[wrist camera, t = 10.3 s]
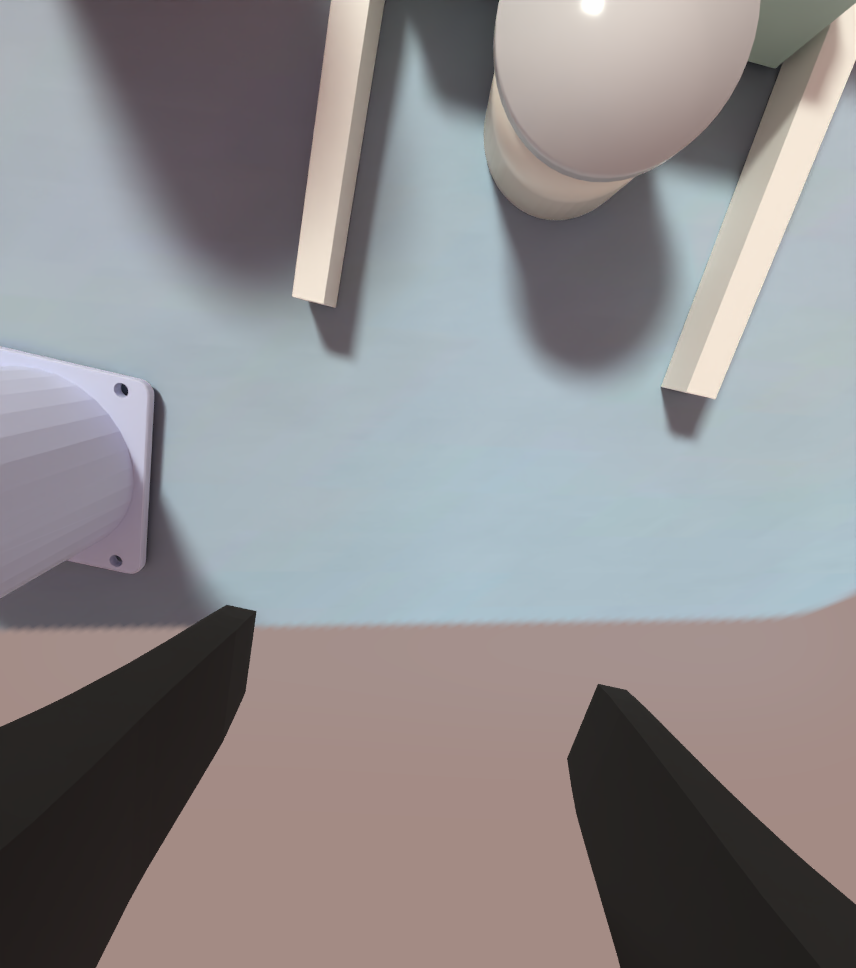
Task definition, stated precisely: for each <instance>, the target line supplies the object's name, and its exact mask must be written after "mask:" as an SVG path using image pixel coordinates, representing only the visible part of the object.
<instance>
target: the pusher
mask: <svg viewBox="0 0 856 968" xmlns="http://www.w3.org/2000/svg"><path fill="white" fill-rule="evenodd" d="M855 3H856V0H760V11H759V19H758V24H757V30H756V35H755V39H754V42H753V46H752V49H751V52H750V56H749V59H748V61H749V62H753V63H756V64H760V65H764V66H767V67H771V68H774V69H775V68H776V67H778V66H779V65H780V64H781V63H783V62H784V61H785V60H786V59H787V58H789V57H790V56H791V55H792V54H794V53H795V52H796V51H797V50H799V49H800V48H801V47H802V46H803V45H805V44H806V43H807V42H808V41H810V40H811V39H812V38H813V37H815V36H816V35H817V34H818V33H819V32H821V31H822V30H823V29H824V28H826V27H827V26H828V25H829V24H830V23H832V22H833V21H834V20H835V19H837V18H838V17H839V16H840V15H842V14H843V13H844V12H845V11H846V10H848V9H849V8H850V7H851V6H853V5H854V4H855Z"/></svg>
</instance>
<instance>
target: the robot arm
mask: <svg viewBox="0 0 856 968" xmlns="http://www.w3.org/2000/svg"><path fill="white" fill-rule="evenodd" d="M122 384H125V385H126V387H127V388H128V395H127V396H126V395H124V394H123V392H122V390H121V386H122ZM153 414H154V390H153V388H152V386H151V385H150V384H149V383H148V382H147V381H145V380H143V379H139V378H135V377H131V376H126V375H122V374H118V373H114V372H109V371H105V370H101V369H96V368H92V367H88V366H83V365H79V364H75V363H70V362H66V361H62V360H57V359H53V358H49V357H45V356H40V355H36V354H32V353H27V352H23V351H19V350H14V349H10V348H6V347H1V346H0V599H1V598H2V597H4V596H6V595H7V594H9V593H11V592H13V591H14V590H16V589H18V588H19V587H21V586H23V585H24V584H26V583H28V582H30V581H31V580H33V579H35V578H36V577H38V576H40V575H42V574H43V573H45V572H47V571H48V570H50V569H52V568H54V567H55V566H57V565H59V564H60V563H62V562H64V561H71V562H76V563H80V564H85V565H90V566H95V567H99V568H104V569H109V570H113V571H118V572H123V573H127V574H134V573H137V572H139V571H140V570H141V569H142V568H143V567H144V566H145V563H146V547H147V528H148V509H149V490H150V471H151V452H152V433H153ZM116 555H117V556H119V557H120V558H121V559H122V562H120V561H119V560H118V559H117V558H116ZM255 618H256V611H253V610H248V609H243V608H238V607H234V606H229V605H226V606H224V607H222V608H221V609H219V610H217V611H216V612H214V613H212V614H210V615H209V616H207V617H205V618H204V619H202V620H200V621H199V622H197V623H196V624H194V625H192V626H191V627H189V628H187V629H186V630H184V631H182V632H181V633H179V634H178V635H176V636H174V637H173V638H171V639H169V640H168V641H166V642H165V643H163V644H161V645H159V646H157V647H156V648H154V649H152V650H151V651H149V652H147V653H145V654H144V655H142V656H140V657H139V658H137V659H135V660H133V661H132V662H130V663H128V664H127V665H125V666H123V667H121V668H119V669H117V670H115V671H114V672H112V673H110V674H108V675H106V676H104V677H102V678H100V679H98V680H97V681H95V682H93V683H91V684H89V685H87V686H85V687H83V688H81V689H80V690H78V691H76V692H74V693H72V694H70V695H68V696H66V697H64V698H62V699H60V700H58V701H56V702H54V703H52V704H50V705H48V706H45V707H43V708H41V709H39V710H37V711H35V712H33V713H30V714H28V715H26V716H24V717H22V718H19V719H17V720H15V721H13V722H10V723H8V724H6V725H4V726H1V727H0V968H96V966H97V964H98V962H99V960H100V958H101V956H102V954H103V952H104V950H105V948H106V946H107V944H108V942H109V940H110V938H111V936H112V934H113V932H114V930H115V928H116V926H117V924H118V922H119V920H120V918H121V916H122V914H123V912H124V910H125V908H126V906H127V904H128V902H129V900H130V898H131V897H132V895H133V893H134V891H135V889H136V888H137V886H138V884H139V882H140V880H141V879H142V877H143V875H144V873H145V871H146V870H147V868H148V866H149V864H150V863H151V861H152V860H153V858H154V856H155V855H156V853H157V851H158V850H159V848H160V846H161V845H162V843H163V841H164V840H165V838H166V836H167V834H168V833H169V831H170V830H171V828H172V826H173V825H174V823H175V821H176V819H177V818H178V816H179V815H180V813H181V811H182V810H183V808H184V806H185V805H186V803H187V801H188V800H189V798H190V796H191V795H192V793H193V791H194V789H195V788H196V786H197V785H198V783H199V781H200V779H201V778H202V776H203V774H204V773H205V771H206V769H207V768H208V766H209V764H210V762H211V761H212V759H213V757H214V756H215V754H216V752H217V751H218V749H219V747H220V745H221V744H222V742H223V740H224V738H225V736H226V734H227V731H228V729H229V727H230V725H231V723H232V721H233V719H234V716H235V714H236V712H237V710H238V707H239V705H240V703H241V701H242V699H243V696H244V694H245V691H246V684H247V676H248V669H249V662H250V654H251V647H252V640H253V632H254V625H255ZM567 760H568V767H569V774H570V780H571V787H572V792H573V798H574V803H575V809H576V814H577V817H578V821H579V825H580V828H581V832H582V836H583V839H584V843H585V846H586V850H587V853H588V857H589V860H590V864H591V867H592V871H593V874H594V877H595V881H596V884H597V888H598V891H599V894H600V898H601V901H602V905H603V908H604V912H605V915H606V918H607V922H608V925H609V929H610V932H611V936H612V939H613V942H614V946H615V949H616V953H617V956H618V960H619V964H620V968H856V904H854V903H853V902H852V901H851V900H850V899H848V898H847V897H846V896H845V895H844V894H843V893H841V892H840V891H839V890H838V889H837V888H835V887H834V886H833V885H832V884H831V883H829V882H828V881H827V880H826V879H825V878H824V877H822V876H821V875H820V874H819V873H818V872H816V871H815V870H814V869H813V868H812V867H811V866H809V865H808V864H807V863H806V862H805V861H804V860H803V859H802V858H800V857H799V856H798V855H797V854H796V853H795V852H794V851H792V850H791V849H790V848H789V847H788V846H787V845H786V844H785V843H784V842H783V841H781V840H780V839H779V838H778V837H777V836H776V835H775V834H774V833H773V832H772V831H771V830H770V829H769V828H767V827H766V826H765V825H764V824H763V823H762V822H761V821H760V820H759V819H758V818H757V817H755V815H753V814H752V813H751V812H750V811H749V810H748V809H747V808H746V807H745V806H744V805H743V804H742V803H741V802H740V801H739V800H738V799H737V798H736V797H734V796H733V795H732V794H731V793H730V792H729V791H728V790H727V789H726V788H725V787H724V786H723V785H722V784H721V783H720V782H719V781H718V780H717V779H716V778H715V777H714V776H713V775H712V774H711V773H710V772H709V771H708V770H707V769H706V768H705V767H704V766H703V765H702V764H701V763H700V762H699V761H698V760H697V759H696V758H695V757H694V756H693V755H692V754H691V753H690V752H689V751H688V750H687V749H686V748H685V747H684V746H683V745H682V744H681V743H680V742H679V741H678V740H677V739H676V738H675V737H674V736H673V735H672V734H671V733H670V732H669V731H668V730H667V729H666V728H665V727H664V726H663V725H662V724H661V723H660V722H659V721H658V720H657V719H656V718H655V717H654V716H653V715H652V714H651V713H650V712H649V711H648V710H647V709H646V708H645V707H644V706H643V705H642V704H641V703H640V702H639V701H638V700H637V699H636V698H635V697H634V696H632V695H631V694H630V693H629V692H628V691H627V690H624V689H619V688H614V687H610V686H605V685H601V684H598V685H597V688H596V690H595V693H594V695H593V697H592V700H591V702H590V705H589V707H588V709H587V712H586V714H585V717H584V720H583V722H582V724H581V726H580V729H579V731H578V734H577V736H576V739H575V741H574V743H573V746H572V748H571V751H570V753H569V755H568V758H567Z"/></svg>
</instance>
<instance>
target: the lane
mask: <svg viewBox="0 0 856 968" xmlns="http://www.w3.org/2000/svg"><path fill="white" fill-rule="evenodd" d="M384 3H385V0H331V6H330V13H329V21H328V29H327V36H326V44H325V51H324V59H323V66H322V74H321V81H320V89H319V97H318V104H317V112H316V119H315V127H314V134H313V142H312V149H311V157H310V165H309V172H308V180H307V187H306V195H305V202H304V210H303V217H302V225H301V233H300V240H299V248H298V255H297V263H296V270H295V278H294V285H293V293H292V297H296V298H299V299H302V300H306V301H309V302H313V303H317V304H321V305H326V306H330V307H334V308H336V304H337V297H338V291H339V285H340V279H341V272H342V266H343V260H344V254H345V247H346V241H347V235H348V229H349V222H350V216H351V210H352V204H353V197H354V191H355V185H356V178H357V172H358V166H359V160H360V153H361V147H362V141H363V135H364V128H365V122H366V116H367V110H368V103H369V97H370V91H371V85H372V78H373V72H374V66H375V60H376V53H377V47H378V41H379V35H380V28H381V22H382V16H383V10H384ZM855 60H856V3H855V4H854V5H853V6H851V7H850V8H849V9H848V10H846V11H845V12H844V13H843V14H842V15H840V16H839V17H838V18H837V19H835V20H834V21H833V22H832V23H830V24H829V25H828V26H827V27H826V28H824V29H823V30H822V31H821V32H819V33H818V34H817V35H816V36H815V37H813V38H812V39H811V40H810V41H808V42H807V43H806V44H805V45H803V46H802V47H801V48H800V49H799V50H797V51H796V52H795V53H794V54H792V55H791V56H790V57H789V58H787V59H786V60H785V61H784V62H783V64H782V66H781V69H780V72H779V74H778V77H777V80H776V82H775V85H774V87H773V90H772V93H771V95H770V98H769V101H768V103H767V106H766V109H765V111H764V114H763V117H762V119H761V122H760V125H759V127H758V130H757V133H756V135H755V138H754V141H753V143H752V146H751V149H750V151H749V154H748V157H747V159H746V162H745V165H744V167H743V170H742V173H741V175H740V178H739V181H738V183H737V186H736V189H735V191H734V194H733V197H732V199H731V202H730V205H729V207H728V210H727V213H726V215H725V218H724V221H723V223H722V226H721V229H720V231H719V234H718V236H717V239H716V242H715V244H714V247H713V250H712V252H711V255H710V258H709V260H708V263H707V266H706V268H705V271H704V274H703V276H702V279H701V282H700V284H699V287H698V290H697V292H696V295H695V298H694V300H693V303H692V306H691V308H690V311H689V314H688V316H687V319H686V322H685V324H684V327H683V330H682V332H681V335H680V338H679V340H678V343H677V346H676V348H675V351H674V354H673V356H672V359H671V362H670V364H669V367H668V370H667V372H666V375H665V378H664V380H663V383H662V386H661V387H663V388H668V389H672V390H676V391H680V392H684V393H688V394H693V395H698V396H703V397H707V398H712V399H716V396H717V394H718V391H719V389H720V387H721V384H722V382H723V379H724V377H725V375H726V372H727V370H728V367H729V365H730V362H731V360H732V358H733V355H734V353H735V350H736V348H737V346H738V343H739V341H740V338H741V336H742V333H743V331H744V329H745V326H746V324H747V321H748V319H749V317H750V314H751V312H752V309H753V307H754V304H755V302H756V300H757V297H758V295H759V292H760V290H761V288H762V285H763V283H764V280H765V278H766V275H767V273H768V271H769V268H770V266H771V263H772V261H773V259H774V256H775V254H776V251H777V249H778V246H779V244H780V242H781V239H782V237H783V234H784V232H785V230H786V227H787V225H788V222H789V220H790V217H791V215H792V213H793V210H794V208H795V205H796V203H797V201H798V198H799V196H800V193H801V191H802V188H803V186H804V184H805V181H806V179H807V176H808V174H809V172H810V169H811V167H812V164H813V162H814V159H815V157H816V155H817V152H818V150H819V147H820V145H821V143H822V140H823V138H824V135H825V133H826V130H827V128H828V126H829V123H830V121H831V118H832V116H833V114H834V111H835V109H836V106H837V104H838V101H839V99H840V97H841V94H842V92H843V89H844V87H845V85H846V82H847V80H848V77H849V75H850V72H851V70H852V68H853V65H854V63H855Z"/></svg>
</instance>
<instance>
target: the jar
mask: <svg viewBox="0 0 856 968" xmlns="http://www.w3.org/2000/svg"><path fill="white" fill-rule="evenodd" d="M759 11H760V0H499V4H498V10H497V16H496V22H495V28H494V43H493V57H494V76H493V81H492V85H491V90H490V95H489V100H488V105H487V110H486V116H485V122H484V149H485V155H486V160H487V163H488V167H489V170H490V172H491V175H492V177H493V179H494V181H495V183H496V185H497V186H498V188H499V190H500V191H501V192H502V193H503V195H504V196H505V197H506V198H507V199H508V200H509V201H510V202H511V203H512V204H513V205H514V206H516V207H517V208H518V209H520V210H521V211H523V212H525V213H527V214H529V215H531V216H534V217H537V218H540V219H546V220H567V219H572V218H576V217H579V216H582V215H584V214H587V213H589V212H591V211H593V210H594V209H596V208H598V207H599V206H600V205H602V204H603V203H604V202H606V201H607V200H608V199H609V198H611V197H612V196H613V195H614V194H615V193H617V192H618V191H619V190H620V189H621V188H623V187H624V186H625V185H626V184H627V183H629V182H630V181H631V180H632V179H633V178H635V177H636V176H639V175H641V174H643V173H646V172H648V171H651V170H652V169H654V168H656V167H658V166H659V165H661V164H663V163H665V162H666V161H667V160H669V159H670V158H671V157H673V156H674V155H675V154H677V153H678V152H679V151H681V150H682V149H683V148H685V147H686V146H687V145H688V144H690V143H691V142H692V141H693V140H694V139H695V138H696V137H698V136H699V135H700V134H701V133H702V132H703V131H704V130H705V129H706V128H707V127H708V126H709V124H710V123H711V122H712V121H713V120H714V119H715V117H716V116H717V115H718V114H719V113H720V111H721V110H722V108H723V107H724V105H725V104H726V102H727V101H728V99H729V98H730V96H731V95H732V93H733V91H734V89H735V87H736V85H737V84H738V82H739V80H740V78H741V76H742V73H743V71H744V68H745V66H746V64H747V61H748V59H749V56H750V52H751V49H752V46H753V42H754V39H755V35H756V30H757V24H758V19H759Z"/></svg>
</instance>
